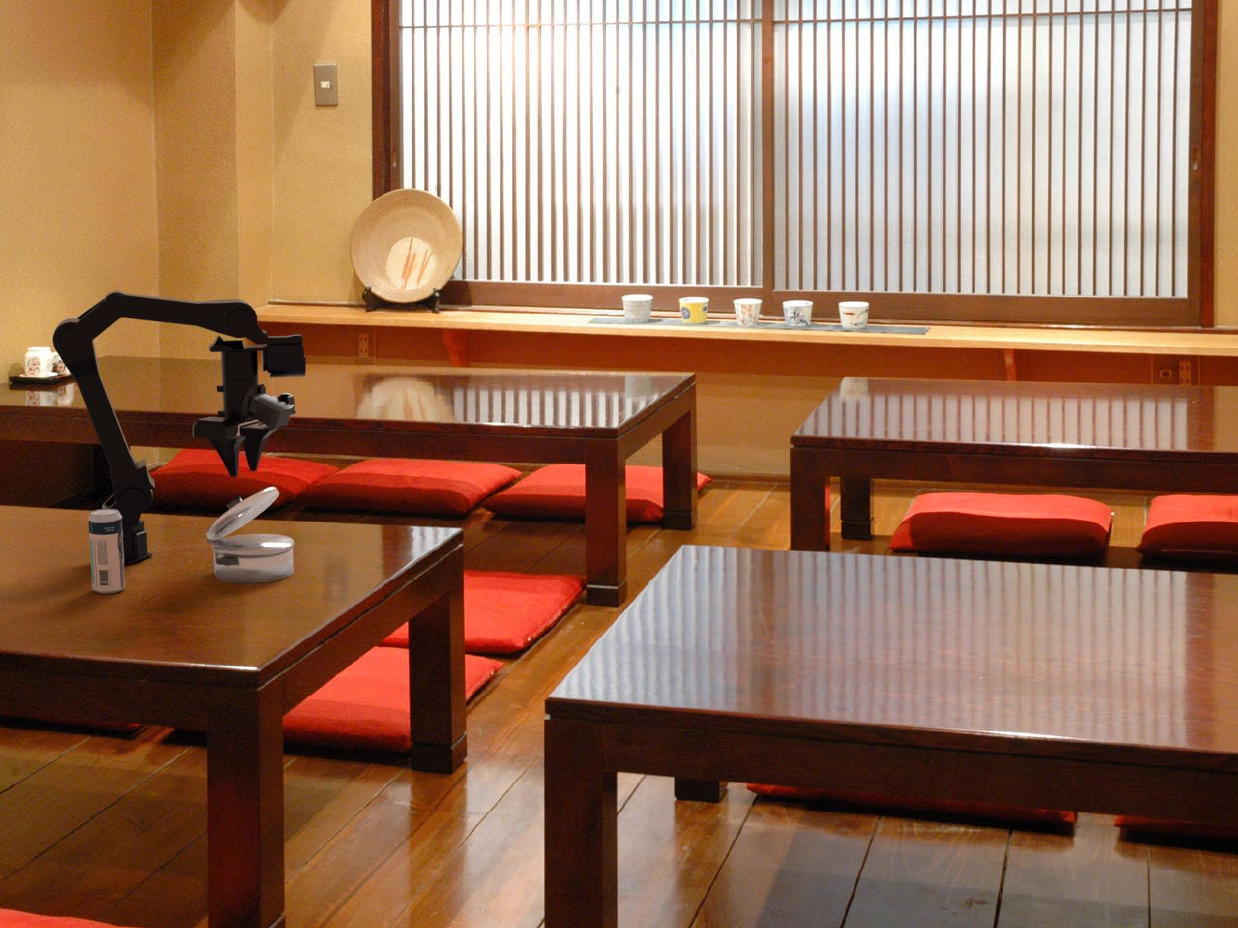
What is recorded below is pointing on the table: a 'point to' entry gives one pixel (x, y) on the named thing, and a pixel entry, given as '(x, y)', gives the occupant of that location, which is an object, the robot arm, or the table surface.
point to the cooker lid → (241, 513)
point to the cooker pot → (253, 558)
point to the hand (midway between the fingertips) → (243, 473)
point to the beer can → (106, 551)
